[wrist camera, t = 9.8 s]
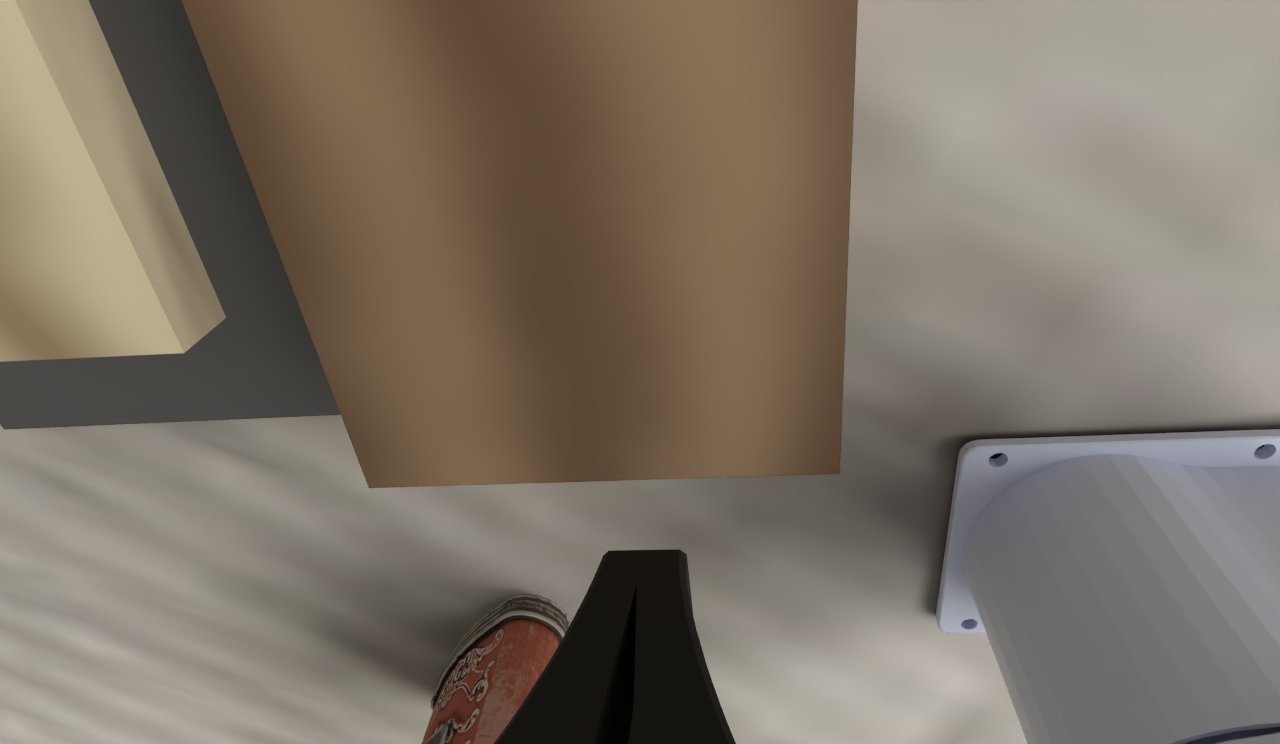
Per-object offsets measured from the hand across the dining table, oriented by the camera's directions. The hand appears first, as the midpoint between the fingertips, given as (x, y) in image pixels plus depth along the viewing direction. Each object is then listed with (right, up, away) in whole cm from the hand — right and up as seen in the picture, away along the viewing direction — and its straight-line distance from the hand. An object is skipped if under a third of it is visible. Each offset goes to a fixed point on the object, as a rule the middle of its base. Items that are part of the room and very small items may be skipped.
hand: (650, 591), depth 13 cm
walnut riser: (-2, +10, +5) cm, 11 cm away
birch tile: (-16, +8, +5) cm, 18 cm away
